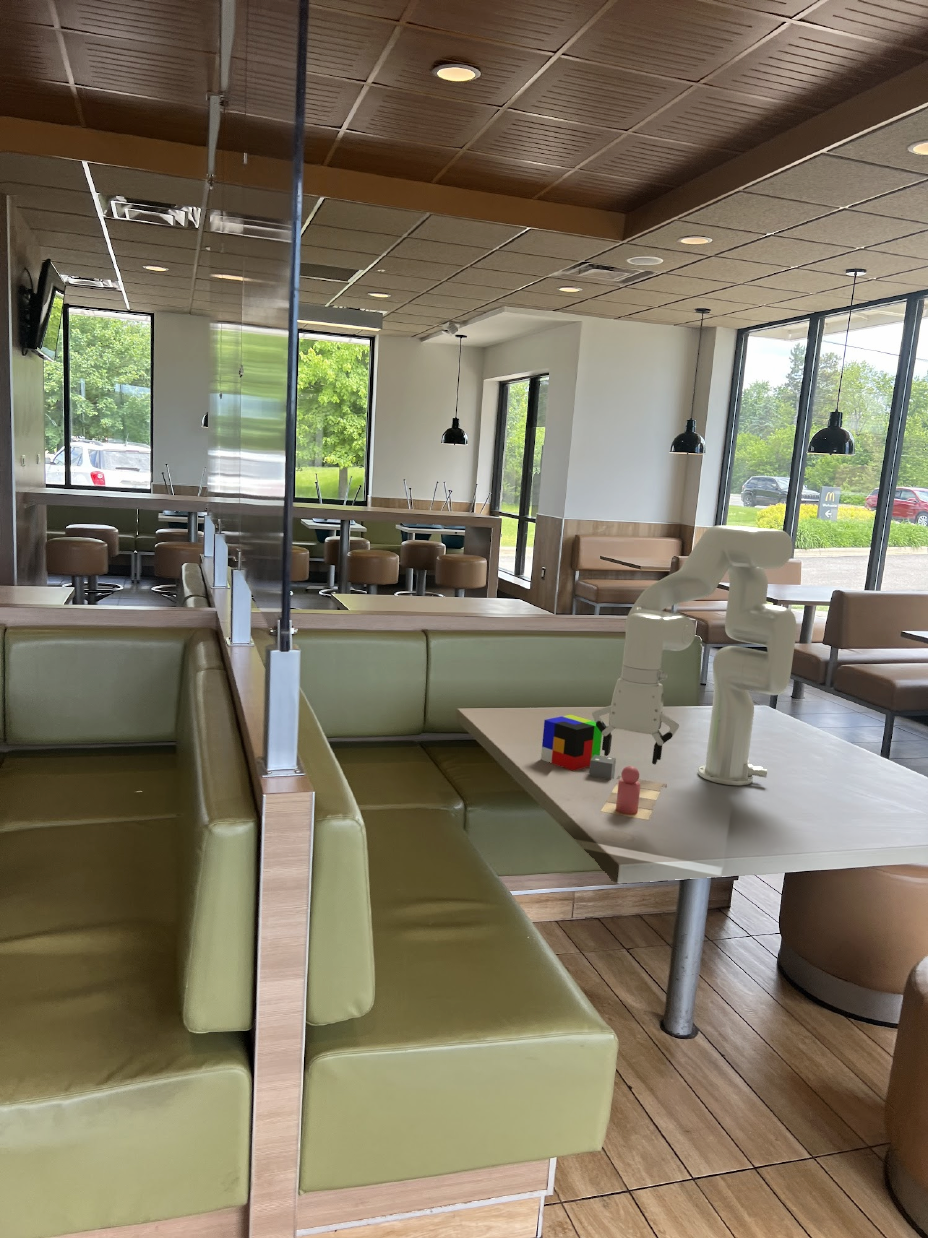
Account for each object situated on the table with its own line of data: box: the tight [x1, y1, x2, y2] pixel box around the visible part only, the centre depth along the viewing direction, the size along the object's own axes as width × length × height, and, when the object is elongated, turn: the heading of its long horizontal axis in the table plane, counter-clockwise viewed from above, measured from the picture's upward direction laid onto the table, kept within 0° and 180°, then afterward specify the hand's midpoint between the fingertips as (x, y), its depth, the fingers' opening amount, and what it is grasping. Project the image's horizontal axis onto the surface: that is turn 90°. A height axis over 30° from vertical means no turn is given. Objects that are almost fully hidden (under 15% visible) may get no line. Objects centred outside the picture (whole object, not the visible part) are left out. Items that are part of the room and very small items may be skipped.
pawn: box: [615, 765, 641, 815], centre depth 186 cm, size 4×4×9 cm
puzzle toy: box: [540, 714, 603, 772], centre depth 221 cm, size 10×10×10 cm
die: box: [588, 754, 617, 781], centre depth 209 cm, size 5×5×5 cm
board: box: [600, 775, 668, 821], centre depth 196 cm, size 11×27×1 cm, turn 161°
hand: (630, 758), depth 185 cm, fingers open, 9 cm apart
